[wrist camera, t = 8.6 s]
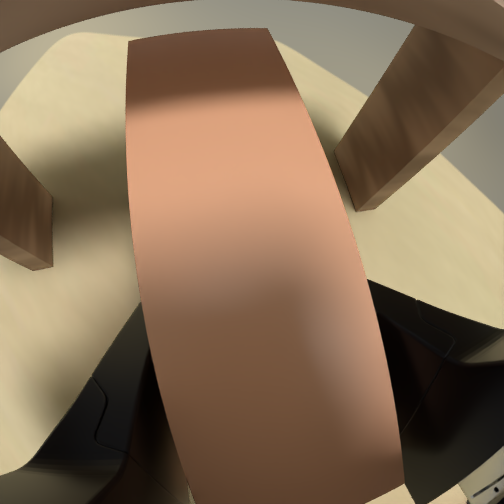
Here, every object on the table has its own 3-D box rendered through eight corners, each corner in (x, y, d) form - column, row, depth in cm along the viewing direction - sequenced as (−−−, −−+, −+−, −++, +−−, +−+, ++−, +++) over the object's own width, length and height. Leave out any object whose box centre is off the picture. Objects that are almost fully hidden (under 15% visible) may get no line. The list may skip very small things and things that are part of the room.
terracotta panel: (288, 406, 14) (404, 483, 4) (208, 425, 13) (214, 547, 4) (234, 183, 17) (267, 28, 7) (162, 195, 16) (128, 41, 7)
